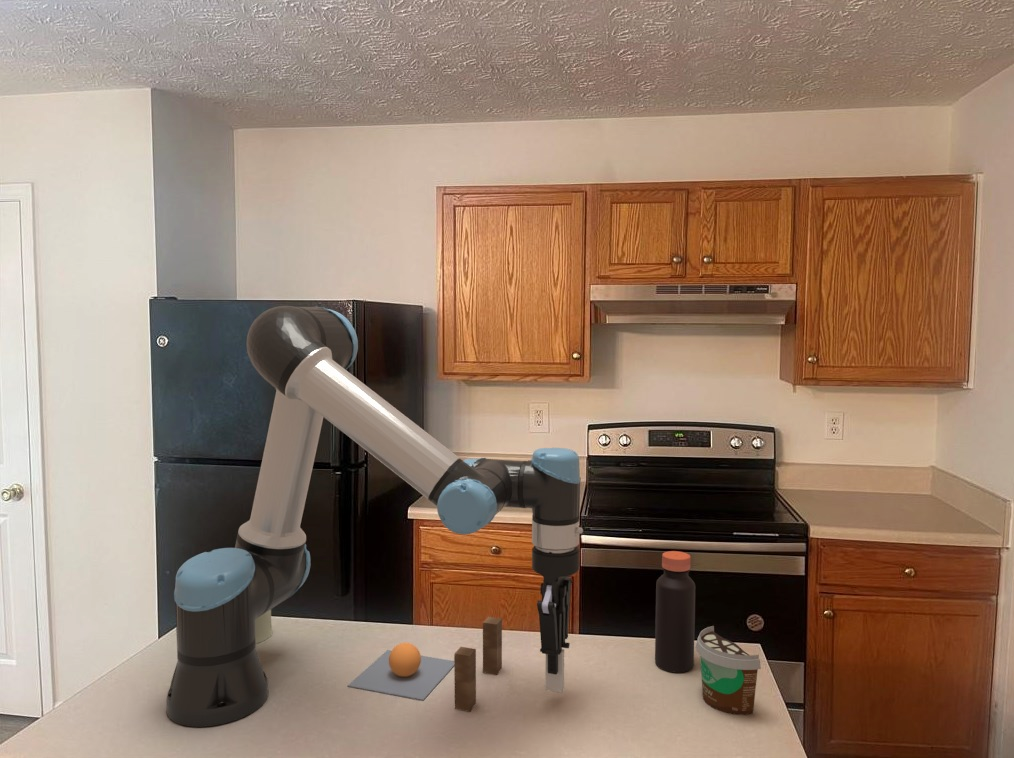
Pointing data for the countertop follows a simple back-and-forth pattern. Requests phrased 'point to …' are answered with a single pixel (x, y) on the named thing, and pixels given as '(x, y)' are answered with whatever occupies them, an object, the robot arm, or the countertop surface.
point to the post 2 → (492, 645)
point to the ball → (404, 659)
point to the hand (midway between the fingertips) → (554, 689)
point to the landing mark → (403, 678)
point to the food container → (727, 674)
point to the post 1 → (465, 678)
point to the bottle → (675, 614)
